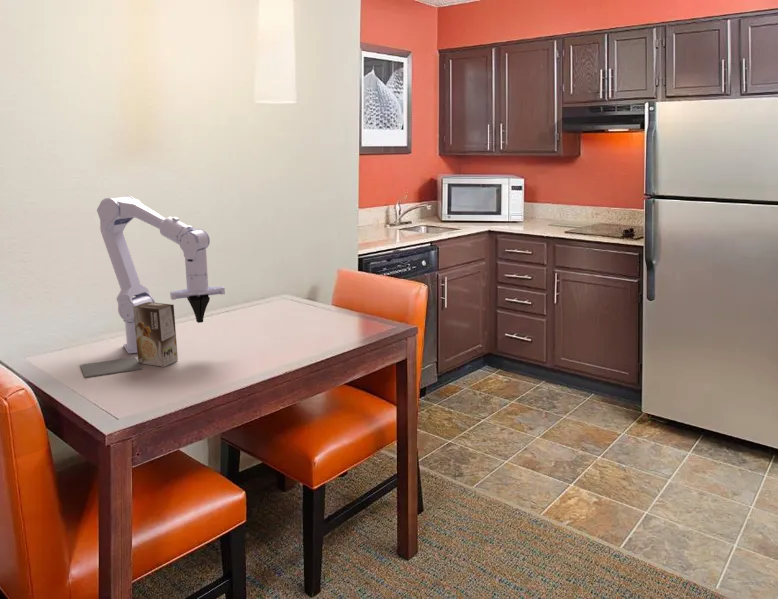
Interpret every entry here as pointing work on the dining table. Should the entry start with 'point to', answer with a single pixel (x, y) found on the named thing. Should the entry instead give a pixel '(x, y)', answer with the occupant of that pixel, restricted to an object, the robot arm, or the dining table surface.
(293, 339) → the dining table surface
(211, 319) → the dining table surface
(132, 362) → the grey flat slab
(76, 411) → the dining table surface
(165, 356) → the coffee box
